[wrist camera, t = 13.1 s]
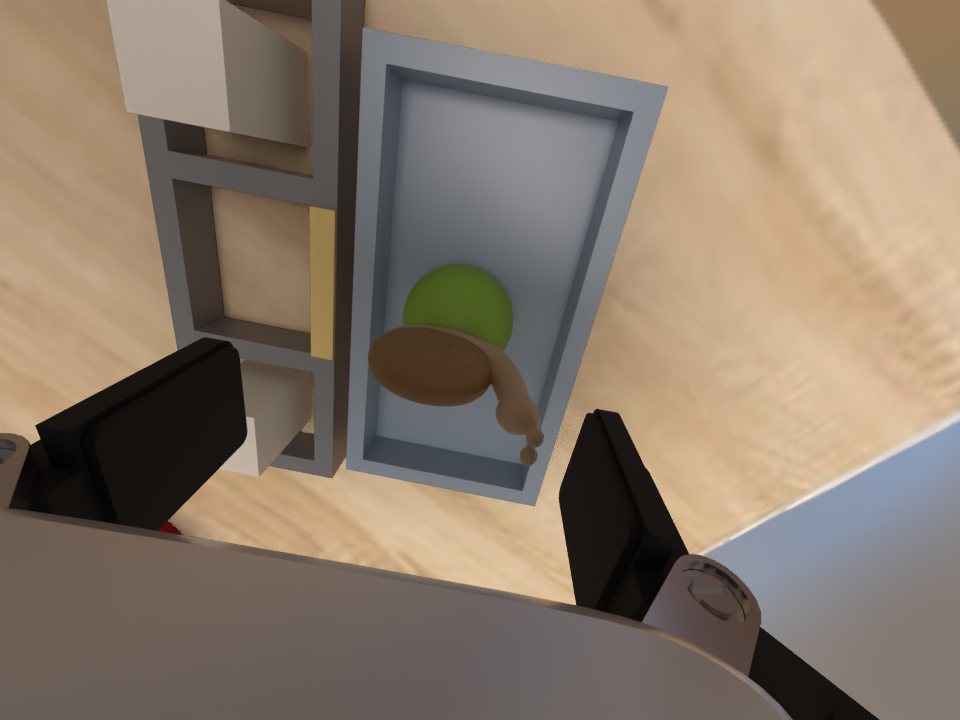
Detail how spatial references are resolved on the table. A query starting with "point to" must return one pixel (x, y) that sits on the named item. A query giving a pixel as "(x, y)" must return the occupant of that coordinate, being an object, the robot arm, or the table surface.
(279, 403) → the block
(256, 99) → the block
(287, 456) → the rack
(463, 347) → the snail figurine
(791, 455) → the table surface
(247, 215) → the table surface
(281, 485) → the table surface
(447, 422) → the tray
